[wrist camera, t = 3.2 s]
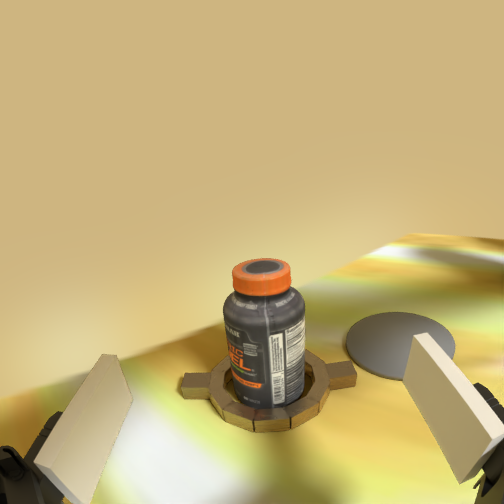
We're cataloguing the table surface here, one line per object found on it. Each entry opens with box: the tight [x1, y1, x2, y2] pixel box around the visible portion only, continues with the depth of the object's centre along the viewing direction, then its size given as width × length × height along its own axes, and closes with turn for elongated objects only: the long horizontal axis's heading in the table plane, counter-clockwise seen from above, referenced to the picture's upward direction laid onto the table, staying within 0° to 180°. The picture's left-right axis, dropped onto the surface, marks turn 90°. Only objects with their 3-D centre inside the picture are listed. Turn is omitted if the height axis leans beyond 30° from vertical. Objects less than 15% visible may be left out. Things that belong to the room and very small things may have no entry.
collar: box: [181, 350, 357, 433], centre depth 24 cm, size 15×10×1 cm
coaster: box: [346, 312, 455, 381], centre depth 28 cm, size 12×12×1 cm
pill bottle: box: [223, 258, 305, 409], centre depth 22 cm, size 6×6×11 cm
